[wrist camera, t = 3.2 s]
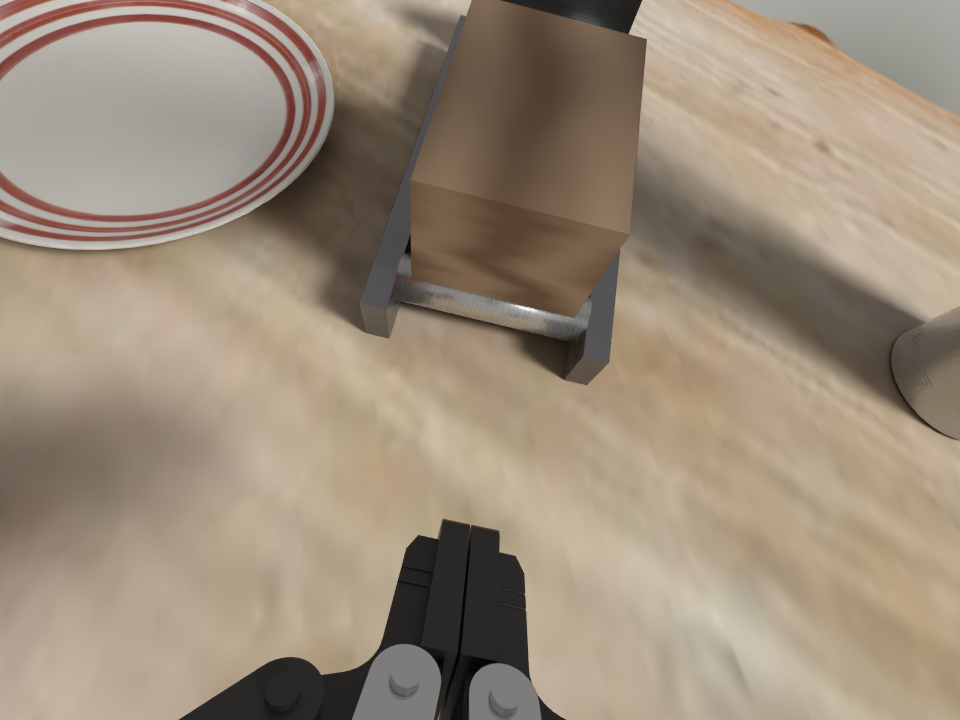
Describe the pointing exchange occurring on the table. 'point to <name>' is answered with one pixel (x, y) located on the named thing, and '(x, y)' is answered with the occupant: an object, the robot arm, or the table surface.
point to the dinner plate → (151, 117)
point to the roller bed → (390, 282)
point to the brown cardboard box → (528, 159)
